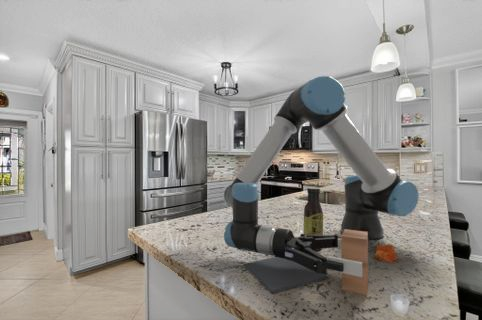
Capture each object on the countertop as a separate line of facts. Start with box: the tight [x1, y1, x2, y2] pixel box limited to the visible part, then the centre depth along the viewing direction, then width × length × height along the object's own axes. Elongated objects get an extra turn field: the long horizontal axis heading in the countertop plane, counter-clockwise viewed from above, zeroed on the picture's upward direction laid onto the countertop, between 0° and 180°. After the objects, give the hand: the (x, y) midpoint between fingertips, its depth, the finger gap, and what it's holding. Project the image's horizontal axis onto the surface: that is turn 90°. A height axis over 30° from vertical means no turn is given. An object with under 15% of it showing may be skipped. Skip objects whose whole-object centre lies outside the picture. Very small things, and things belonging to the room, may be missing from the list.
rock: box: [374, 244, 398, 263], centre depth 70 cm, size 12×12×4 cm
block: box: [340, 229, 369, 296], centre depth 54 cm, size 6×5×12 cm
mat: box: [242, 256, 329, 294], centre depth 61 cm, size 16×15×1 cm
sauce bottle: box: [303, 187, 324, 251], centre depth 78 cm, size 7×6×20 cm
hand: (364, 257), depth 53 cm, fingers open, 13 cm apart
